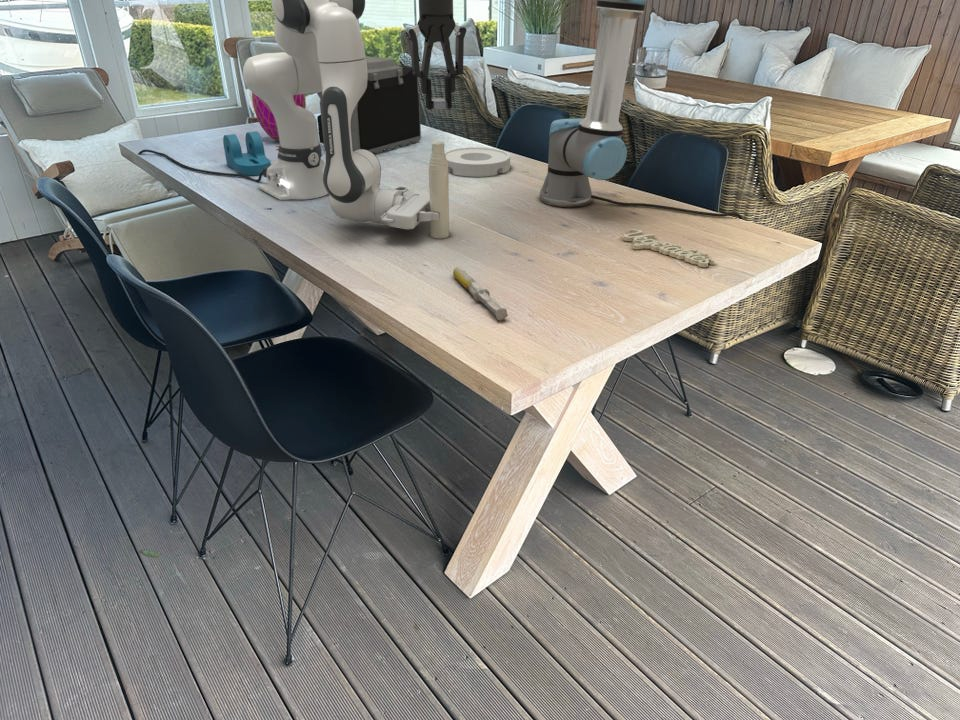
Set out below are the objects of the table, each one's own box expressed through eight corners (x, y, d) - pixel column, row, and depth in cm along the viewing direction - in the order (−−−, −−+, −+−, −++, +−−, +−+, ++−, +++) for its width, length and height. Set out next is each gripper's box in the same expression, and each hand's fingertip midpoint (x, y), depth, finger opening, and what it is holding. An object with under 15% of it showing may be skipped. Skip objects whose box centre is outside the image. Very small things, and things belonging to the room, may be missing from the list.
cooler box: (383, 133, 276) (378, 52, 261) (425, 141, 265) (422, 56, 250) (314, 150, 251) (304, 61, 235) (358, 160, 240) (350, 67, 224)
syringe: (449, 274, 155) (449, 263, 153) (465, 272, 156) (464, 260, 154) (490, 323, 135) (491, 310, 133) (508, 319, 136) (508, 307, 134)
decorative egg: (293, 132, 276) (283, 50, 261) (319, 140, 264) (310, 56, 249) (249, 139, 265) (236, 54, 250) (273, 148, 253) (261, 60, 238)
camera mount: (227, 164, 233) (221, 132, 227) (257, 160, 238) (252, 129, 233) (244, 176, 220) (239, 143, 215) (276, 172, 225) (271, 139, 220)
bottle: (427, 234, 177) (424, 141, 166) (442, 230, 180) (441, 139, 168) (436, 239, 174) (434, 145, 162) (452, 236, 176) (451, 143, 165)
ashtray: (444, 158, 243) (444, 146, 241) (509, 159, 243) (510, 147, 241) (439, 176, 224) (438, 163, 222) (510, 177, 223) (510, 165, 221)
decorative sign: (608, 236, 174) (633, 227, 180) (608, 240, 175) (632, 231, 180) (698, 267, 157) (722, 256, 163) (698, 271, 158) (721, 260, 163)
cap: (449, 108, 160) (449, 101, 159) (431, 109, 159) (431, 101, 158) (445, 105, 163) (445, 97, 162) (428, 106, 162) (427, 98, 162)
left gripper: (375, 207, 166) (429, 213, 163) (404, 184, 183) (453, 188, 180) (377, 232, 169) (430, 238, 167) (405, 207, 187) (454, 212, 184)
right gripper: (467, -7, 155) (468, 102, 167) (393, -5, 150) (399, 107, 162) (478, -5, 149) (478, 108, 160) (401, -4, 144) (406, 113, 156)
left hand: (442, 212), depth 174 cm, fingers closed on bottle, 5 cm apart
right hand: (438, 107), depth 161 cm, fingers closed on cap, 4 cm apart
